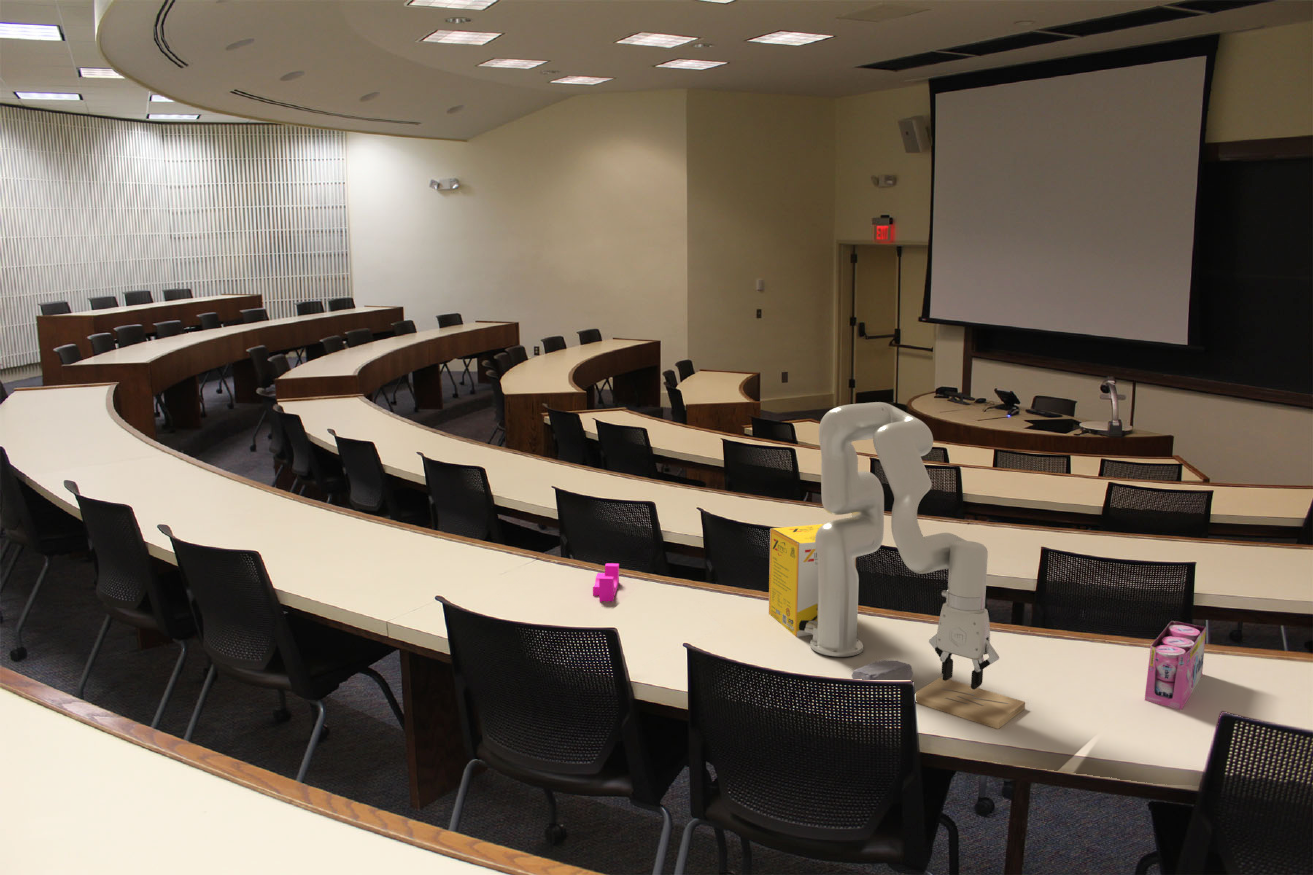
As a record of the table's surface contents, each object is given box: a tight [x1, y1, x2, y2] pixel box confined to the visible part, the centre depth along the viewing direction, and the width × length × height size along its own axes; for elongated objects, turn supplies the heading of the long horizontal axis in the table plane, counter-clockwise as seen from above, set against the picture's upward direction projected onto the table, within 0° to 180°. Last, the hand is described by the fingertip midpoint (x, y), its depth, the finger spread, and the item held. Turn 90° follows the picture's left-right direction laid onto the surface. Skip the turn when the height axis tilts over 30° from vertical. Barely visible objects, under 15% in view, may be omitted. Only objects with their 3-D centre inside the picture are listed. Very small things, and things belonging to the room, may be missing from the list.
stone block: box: [851, 659, 914, 681], centre depth 213 cm, size 12×5×10 cm
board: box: [915, 676, 1026, 730], centre depth 202 cm, size 19×13×2 cm
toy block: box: [592, 562, 620, 603], centre depth 274 cm, size 15×6×8 cm, turn 176°
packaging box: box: [768, 523, 857, 638], centre depth 248 cm, size 16×16×25 cm
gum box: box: [1144, 620, 1207, 710], centre depth 208 cm, size 22×7×13 cm, turn 141°
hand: (961, 682), depth 203 cm, fingers open, 5 cm apart
